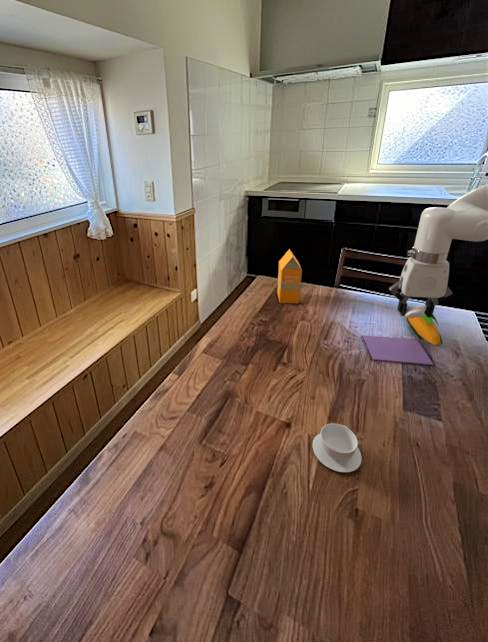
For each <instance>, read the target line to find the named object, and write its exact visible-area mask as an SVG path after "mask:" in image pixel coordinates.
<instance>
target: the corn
mask: <svg viewBox="0 0 488 642" xmlns="http://www.w3.org/2000/svg"><path fill="white" fill-rule="evenodd" d="M406 320H407V323H408V325H409V327H410V328H411V330H412V331H413V332H414V333H415V335H416V336H417V337H418V338H419V339H423V340H424V341H425V342H427V343H429V344H431V345H433V346H435V347H437V346H443V344H444V343H443V341H444V340H443V338H442V335H441V334H440V332H439V330H438V327H437V326H439V323H438V320H437V318H436V316H435V315H434V313H432V314H431V317H427V316H426V315H425V314H423V315H422V316H421V317H418V318H417V317H415V318H407V317H406Z"/></svg>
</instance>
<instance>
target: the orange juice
mask: <svg viewBox="0 0 488 642" xmlns="http://www.w3.org/2000/svg"><path fill="white" fill-rule="evenodd" d="M302 274H303V270H302V267H301V264H300V262H299V261H298V259H297V258H296V256H295V255H294V253H293V252H292V251H291V249H290V248H289V249H288V250H287V251H286V252H285V253H284V255H283V256H282V257H281V258H280V259H279V260H278V274H277V290H276V294H277V298H278V302H279V304H300V296H301V288H302V287H301V285H302Z"/></svg>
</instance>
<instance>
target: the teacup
mask: <svg viewBox="0 0 488 642" xmlns="http://www.w3.org/2000/svg"><path fill="white" fill-rule="evenodd" d="M358 446H359V442H358V438H357V436H356V435H355V433H354V432H353V431H352V430H351V429H350V428H348V426H346V425H343V424H339V423H327V424H325V425H324V426H323V427H322V428H321V430H320V433H317V435H316V436H315V437H314V438H313V440H312V451H313V453H314V455H315V457H316V459H317V460H318V461H319V462H320V463H321V464H323V465H324V466H325V467H327V468H328V469H330V470H333V471H335V472H339V473H351V472H354V471H356V470H358V468H359V467H360V466H361V464H362V460H363V459H362V458H363V457H362V454H361V453H362V452H361V451H360V448H359V447H358Z"/></svg>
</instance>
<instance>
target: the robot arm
mask: <svg viewBox="0 0 488 642" xmlns="http://www.w3.org/2000/svg"><path fill="white" fill-rule="evenodd" d="M452 240H460V241H467V242H484V241H488V183H487V184H484V185H481V186H479V187H477V188H475V189H473V190H470V191H469V192H467V193H466V194H464V195H463V196H460V197H459V198H458V199H456V200H454V201H453V202H452V203H450V204H449V205H448V206H447V207H442V206H441V207H440V206H434V207H428V208H425V209H424V210H423V211H422V212H421V214H420V218H419V222H418V227H417V231H416V235H415V240H414V245H413V247H412V249H410V250H407V251H406V256H407V257H408V256H409V257H408V258H407V260H406V262H405V264H404V266H403V269H402V271H401V274H400V277H399V280H398V281H397V282H395V283H394V284H393V285H391V286H390V287H388V290H389V292H390V293H391V294H392V295H393V296H395V298H396V299H397V300H398V303H397V312H398V313H399V314H400V315H401V316H402V317H404V315H405V313H406V309H407V307H408V303H407V302H408V300H409V299H410V298H428V299H426V301H425V303H424V305H425V306H427V309H426V310H425V312H424V314H425V315H426V316H427V317H431V314H434V311H435V307H436V306H438V305H439V303H440V302H441V301H443V300H445V299H446V298H449V296H452V295H453V291H452V289H450V287H449V286H448V283H449V277H450V276H449V275H450V261H448V260H447V259H448V255H449V252H450V248H451V244H452ZM398 290H401V292H399V291H398Z"/></svg>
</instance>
